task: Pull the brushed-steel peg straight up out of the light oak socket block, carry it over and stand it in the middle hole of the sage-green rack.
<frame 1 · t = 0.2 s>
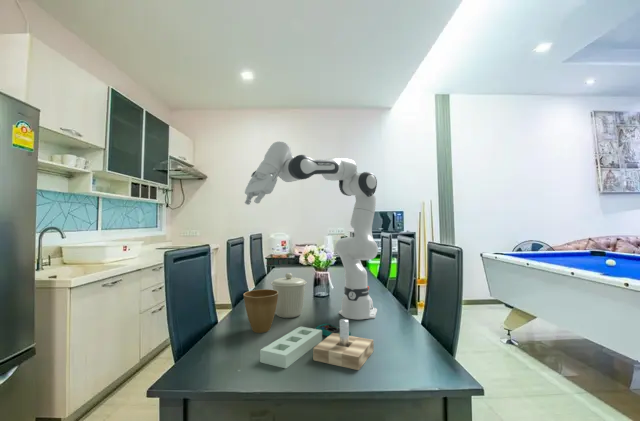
hand: (251, 203, 122), 54 cm above the table, tool tilted 30°, fingers open, 8 cm apart
digital multimeter: (332, 336, 125), on the table
canister: (288, 315, 152), on the table
rack: (293, 350, 109), on the table
plant pot: (260, 330, 130), on the table
steel peg: (344, 337, 105), in the socket block
socket block: (344, 355, 104), on the table
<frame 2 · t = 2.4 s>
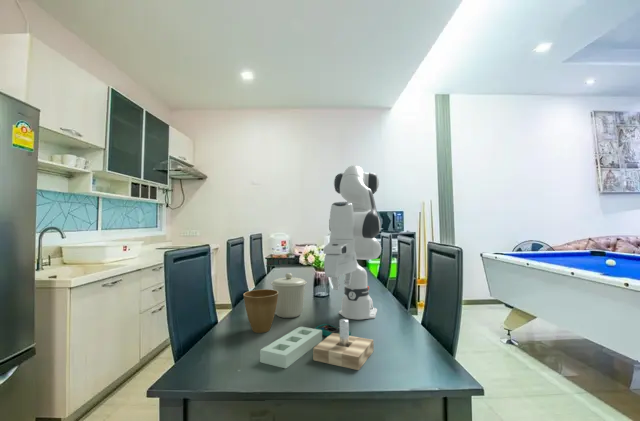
hand: (342, 287, 106), 23 cm above the table, tool pointing down, fingers open, 8 cm apart
nothing on the table moved.
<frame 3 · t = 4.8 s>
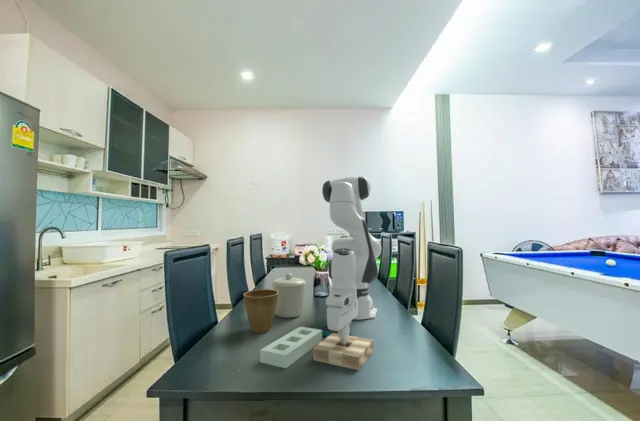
hand: (344, 336, 105), 7 cm above the table, tool pointing down, fingers closed on steel peg, 3 cm apart
steel peg: (344, 337, 105), in the socket block, touching gripper
everything else where it was.
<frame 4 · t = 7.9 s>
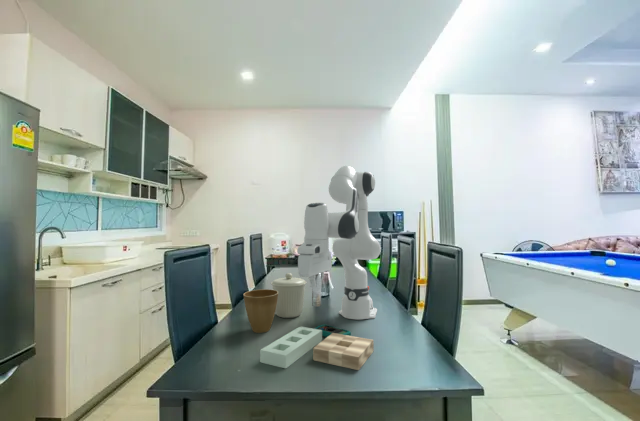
hand: (316, 286, 108), 23 cm above the table, tool pointing down, fingers closed on steel peg, 3 cm apart
steel peg: (316, 288, 108), point 23 cm above the table, touching gripper
everything else where it was.
when the fingers open (8 cm above the table, at t = 11.0 s): steel peg drops 1 cm, resting in rack.
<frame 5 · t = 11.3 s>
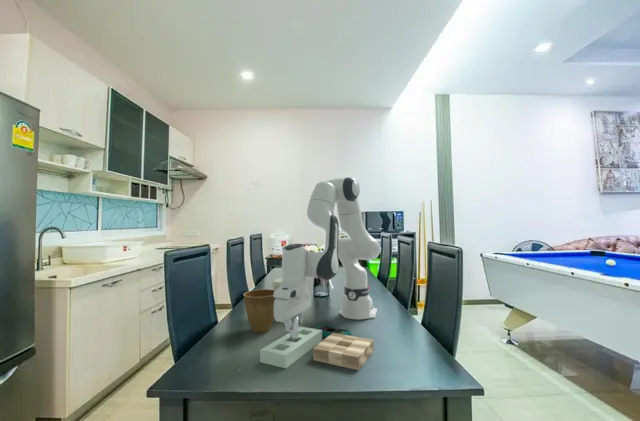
hand: (293, 327, 109), 8 cm above the table, tool pointing down, fingers open, 6 cm apart
steel peg: (293, 333, 109), in the rack
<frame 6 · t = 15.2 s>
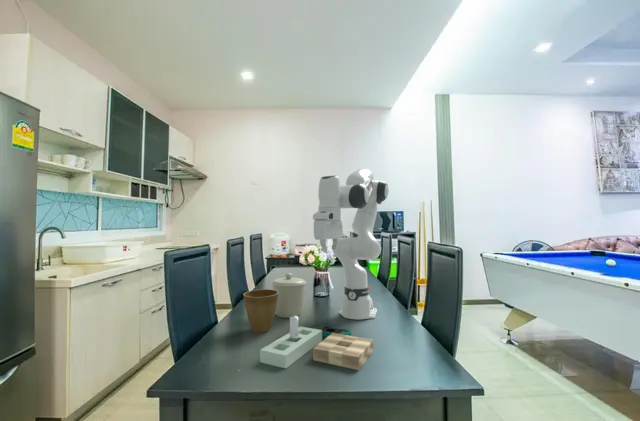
hand: (329, 250, 120), 35 cm above the table, tool pointing down, fingers open, 8 cm apart
at the end: steel peg 0.1 cm off-centre on the rack, point 6.0 cm above the rack's base; steel peg tilted 0°; the gripper is holding nothing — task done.
